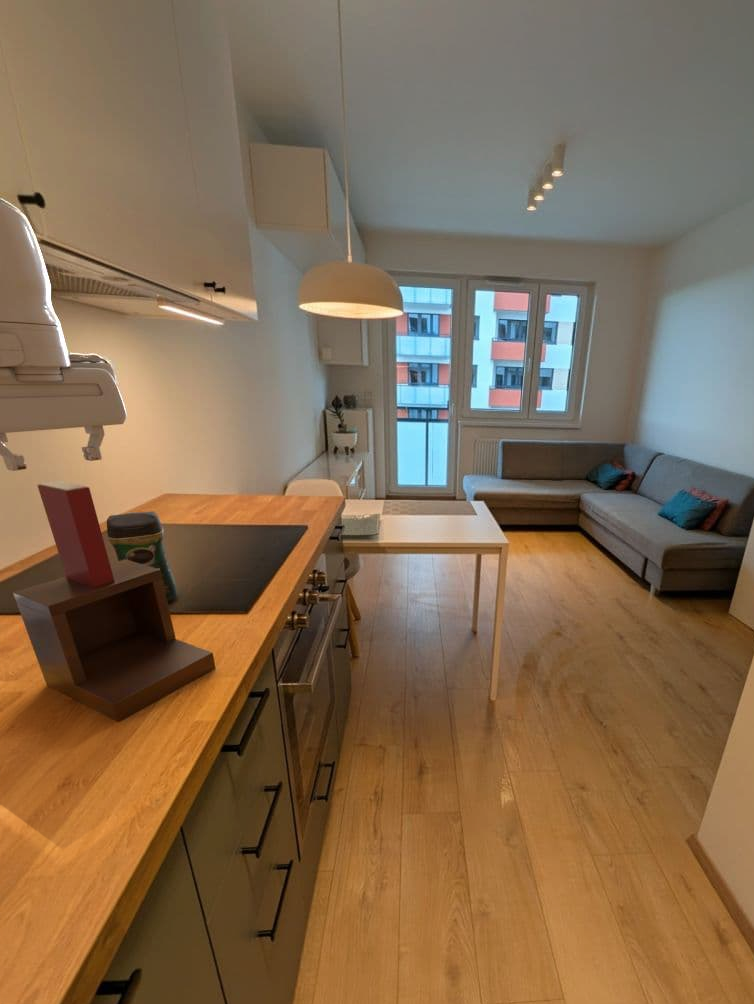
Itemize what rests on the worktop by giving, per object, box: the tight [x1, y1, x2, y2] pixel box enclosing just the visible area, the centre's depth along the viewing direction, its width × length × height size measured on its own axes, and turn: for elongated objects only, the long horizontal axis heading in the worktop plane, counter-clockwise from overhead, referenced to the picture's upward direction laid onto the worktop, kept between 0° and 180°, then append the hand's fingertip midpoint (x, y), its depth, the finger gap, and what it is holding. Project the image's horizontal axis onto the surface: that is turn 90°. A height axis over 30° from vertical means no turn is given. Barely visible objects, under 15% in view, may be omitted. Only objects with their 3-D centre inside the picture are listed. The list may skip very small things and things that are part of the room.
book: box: [37, 480, 114, 588], centre depth 73 cm, size 7×3×14 cm, turn 63°
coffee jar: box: [106, 511, 179, 604], centre depth 102 cm, size 10×8×19 cm
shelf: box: [12, 559, 216, 723], centre depth 77 cm, size 18×16×16 cm
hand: (57, 464), depth 69 cm, fingers open, 8 cm apart
